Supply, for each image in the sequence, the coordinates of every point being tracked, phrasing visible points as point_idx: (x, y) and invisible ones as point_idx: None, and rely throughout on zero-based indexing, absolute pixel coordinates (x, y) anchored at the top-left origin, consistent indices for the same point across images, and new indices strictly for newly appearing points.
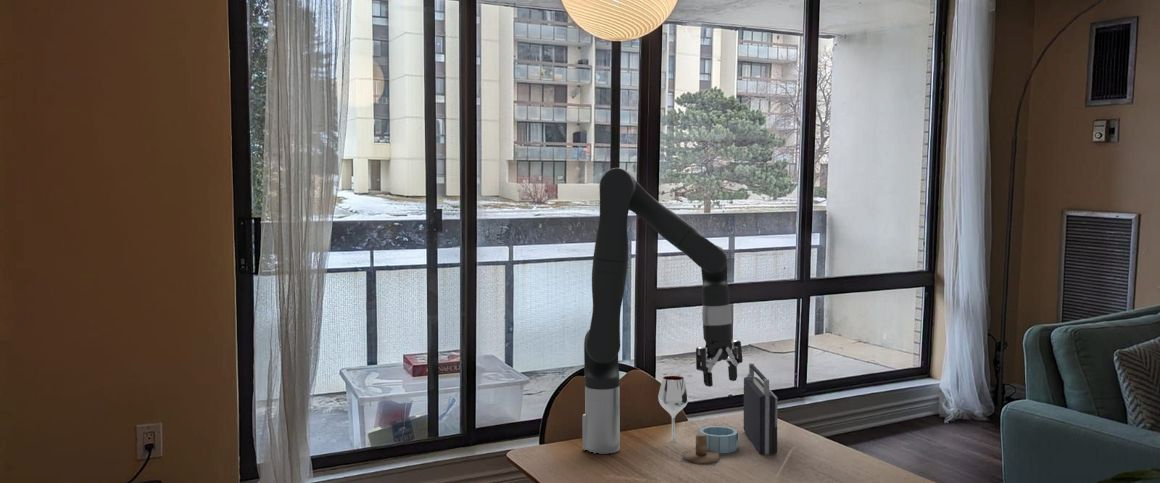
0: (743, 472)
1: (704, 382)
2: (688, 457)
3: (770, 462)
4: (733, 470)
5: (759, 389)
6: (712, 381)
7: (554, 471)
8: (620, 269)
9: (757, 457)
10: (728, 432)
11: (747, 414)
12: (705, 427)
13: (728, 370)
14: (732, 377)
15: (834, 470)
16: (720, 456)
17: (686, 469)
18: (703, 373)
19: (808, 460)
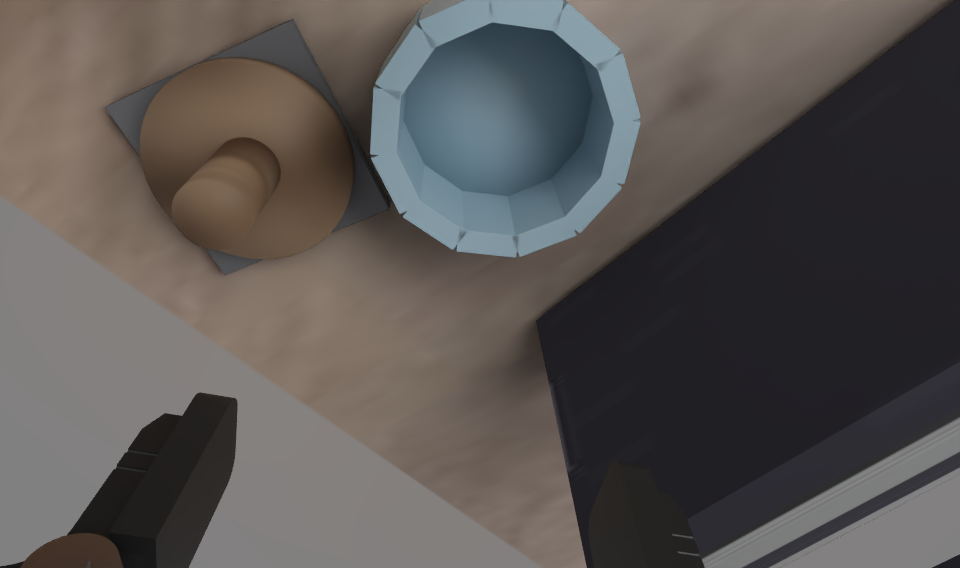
0: (289, 380)
1: (143, 437)
2: (143, 150)
3: (491, 383)
4: (274, 341)
5: (805, 500)
6: (209, 518)
7: None
8: None
9: (517, 314)
10: (602, 141)
11: (924, 129)
12: (525, 5)
13: (644, 553)
14: (603, 530)
15: (565, 550)
16: (364, 213)
17: (85, 188)
18: (71, 533)
19: None
